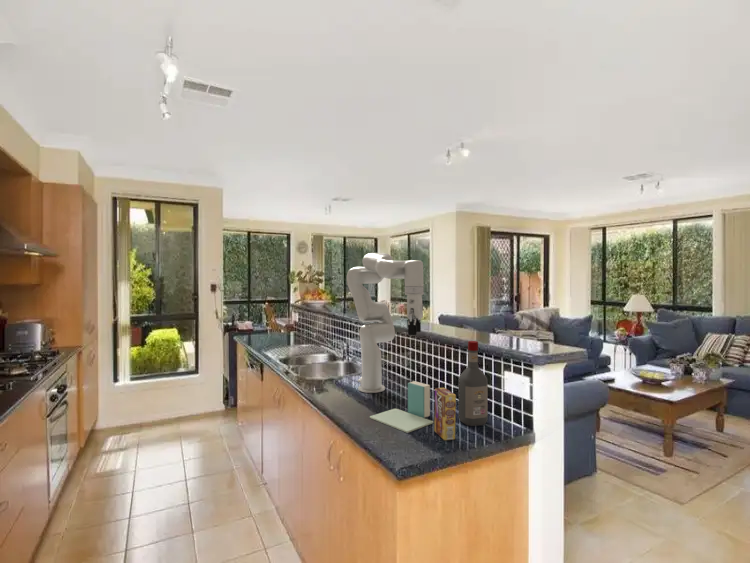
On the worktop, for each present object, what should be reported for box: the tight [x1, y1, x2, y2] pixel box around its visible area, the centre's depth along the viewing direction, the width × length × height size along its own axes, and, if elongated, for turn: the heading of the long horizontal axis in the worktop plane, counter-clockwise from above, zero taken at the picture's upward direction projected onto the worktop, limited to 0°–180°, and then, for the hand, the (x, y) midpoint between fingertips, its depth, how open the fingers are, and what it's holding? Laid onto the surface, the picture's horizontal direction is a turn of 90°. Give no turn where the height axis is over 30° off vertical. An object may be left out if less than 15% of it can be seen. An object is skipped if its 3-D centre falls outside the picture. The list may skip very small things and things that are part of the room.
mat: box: [369, 408, 435, 434], centre depth 155 cm, size 20×14×1 cm
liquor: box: [458, 340, 489, 427], centre depth 153 cm, size 9×9×30 cm
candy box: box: [433, 387, 457, 441], centre depth 141 cm, size 9×4×15 cm, turn 14°
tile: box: [407, 380, 431, 419], centre depth 162 cm, size 8×4×12 cm, turn 42°
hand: (414, 333), depth 166 cm, fingers open, 9 cm apart
